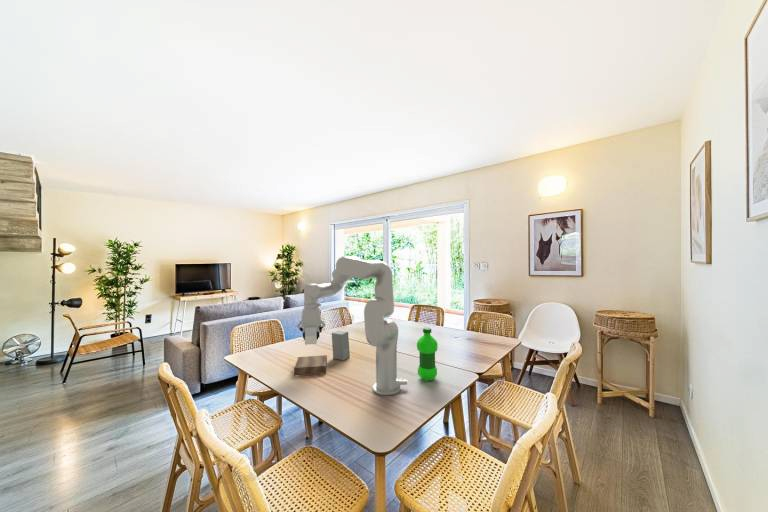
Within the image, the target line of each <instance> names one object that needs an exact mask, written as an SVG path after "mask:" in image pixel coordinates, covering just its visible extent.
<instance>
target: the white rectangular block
mask: <svg viewBox="0 0 768 512" xmlns="http://www.w3.org/2000/svg"><path fill="white" fill-rule="evenodd" d="M317 343H318V339H317V327H305V340H304V345H305V346H306V345H317Z"/></svg>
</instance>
